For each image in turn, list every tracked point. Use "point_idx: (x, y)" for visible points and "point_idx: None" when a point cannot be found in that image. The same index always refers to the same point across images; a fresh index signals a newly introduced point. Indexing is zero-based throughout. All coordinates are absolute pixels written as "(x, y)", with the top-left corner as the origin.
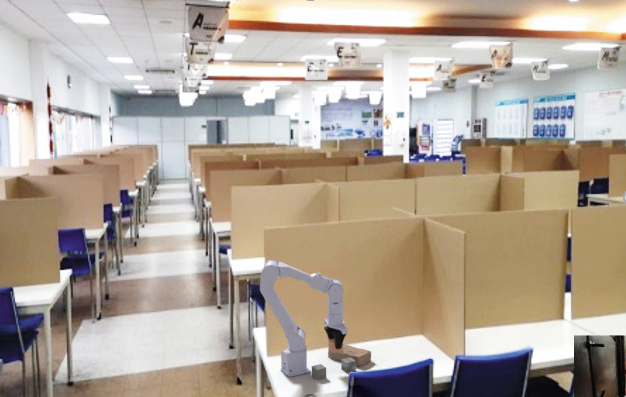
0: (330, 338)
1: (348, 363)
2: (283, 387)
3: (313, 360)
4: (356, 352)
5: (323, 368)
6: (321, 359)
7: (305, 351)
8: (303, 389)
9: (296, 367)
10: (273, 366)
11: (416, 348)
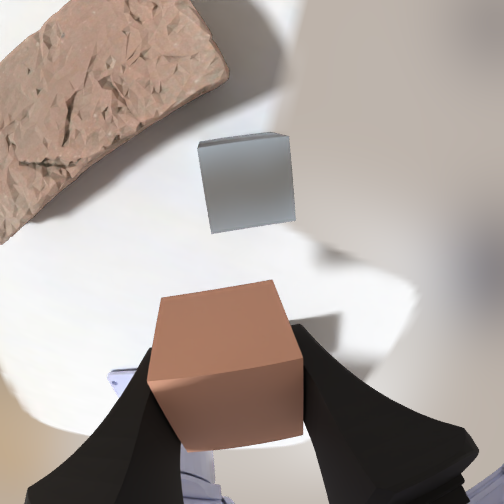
0: (175, 445)
1: (292, 203)
2: (289, 438)
3: (54, 311)
4: (116, 58)
5: None
6: (44, 271)
7: (193, 467)
8: None
9: None
10: None
11: None
